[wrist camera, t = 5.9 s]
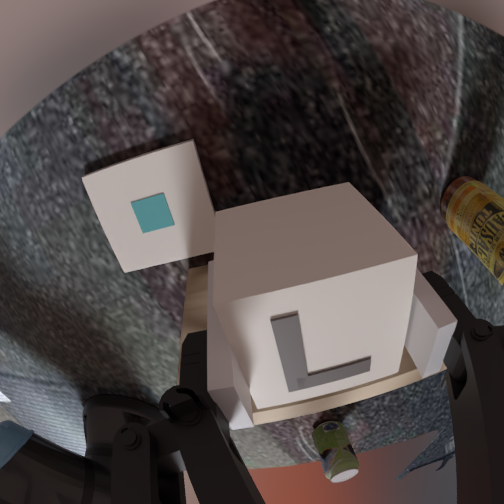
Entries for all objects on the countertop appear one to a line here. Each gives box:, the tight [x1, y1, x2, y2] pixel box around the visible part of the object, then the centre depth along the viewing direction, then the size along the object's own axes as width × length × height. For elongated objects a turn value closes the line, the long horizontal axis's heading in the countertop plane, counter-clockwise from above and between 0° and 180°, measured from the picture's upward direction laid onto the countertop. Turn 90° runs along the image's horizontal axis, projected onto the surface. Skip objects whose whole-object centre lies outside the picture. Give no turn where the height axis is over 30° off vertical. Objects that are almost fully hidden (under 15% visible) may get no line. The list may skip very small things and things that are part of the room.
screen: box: [177, 265, 447, 429], centre depth 24 cm, size 18×6×16 cm, turn 102°
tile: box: [82, 139, 215, 273], centre depth 26 cm, size 10×10×1 cm
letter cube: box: [213, 182, 418, 409], centre depth 12 cm, size 6×6×6 cm
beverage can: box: [312, 421, 359, 483], centre depth 46 cm, size 6×7×12 cm
